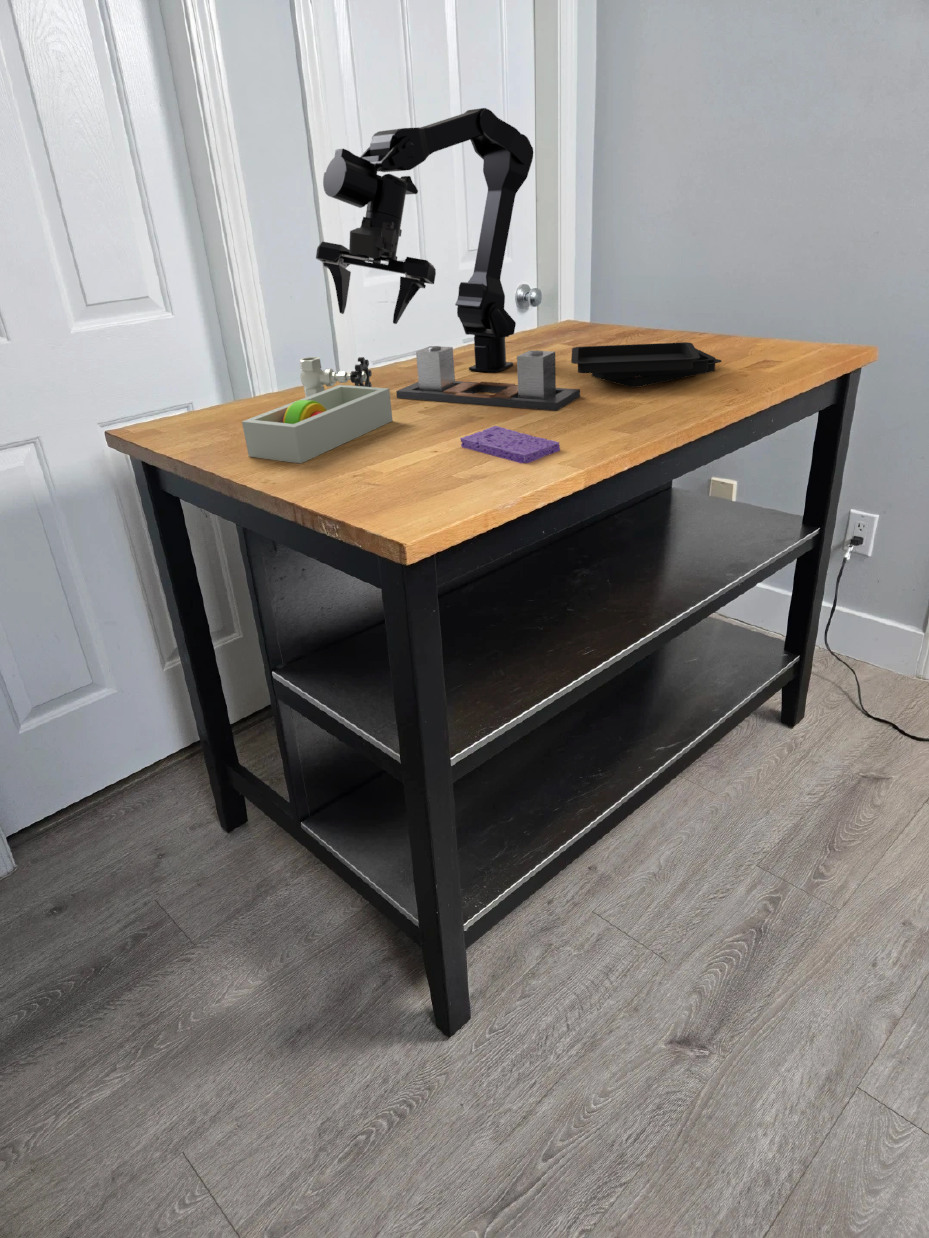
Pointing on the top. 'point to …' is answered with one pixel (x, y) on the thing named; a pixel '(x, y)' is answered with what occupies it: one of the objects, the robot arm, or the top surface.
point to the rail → (503, 396)
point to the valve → (331, 375)
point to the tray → (643, 362)
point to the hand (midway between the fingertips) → (368, 318)
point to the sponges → (510, 444)
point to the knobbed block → (435, 368)
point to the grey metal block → (536, 375)
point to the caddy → (318, 424)
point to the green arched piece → (302, 411)
